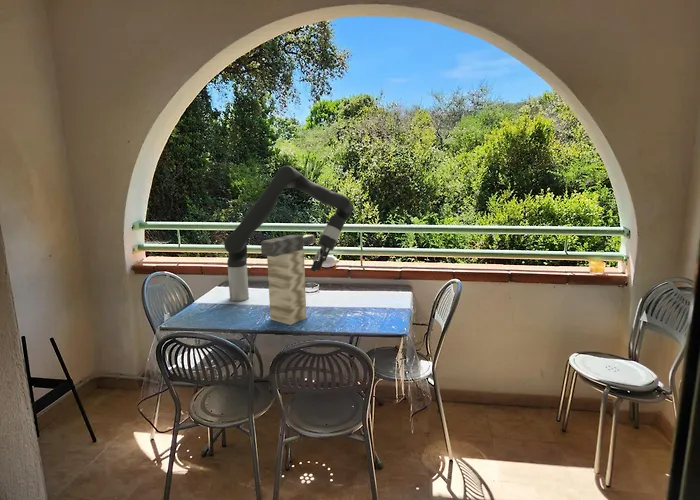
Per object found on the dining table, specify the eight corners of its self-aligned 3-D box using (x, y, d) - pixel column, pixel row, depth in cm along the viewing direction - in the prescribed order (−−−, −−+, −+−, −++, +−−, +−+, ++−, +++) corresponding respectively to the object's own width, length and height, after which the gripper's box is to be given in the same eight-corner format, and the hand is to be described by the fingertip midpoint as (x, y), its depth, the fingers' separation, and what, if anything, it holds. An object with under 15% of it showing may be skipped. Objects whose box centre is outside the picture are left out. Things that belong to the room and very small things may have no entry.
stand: (280, 329, 186) (276, 243, 179) (260, 323, 193) (255, 240, 186) (310, 316, 201) (308, 236, 194) (291, 311, 208) (287, 233, 201)
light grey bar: (276, 252, 185) (276, 243, 185) (270, 251, 187) (269, 242, 187) (314, 243, 204) (314, 235, 204) (308, 242, 206) (308, 234, 206)
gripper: (318, 236, 209) (303, 267, 205) (326, 231, 195) (310, 265, 192) (332, 243, 210) (318, 274, 207) (341, 239, 197) (326, 273, 193)
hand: (314, 270), depth 199 cm, fingers open, 8 cm apart
